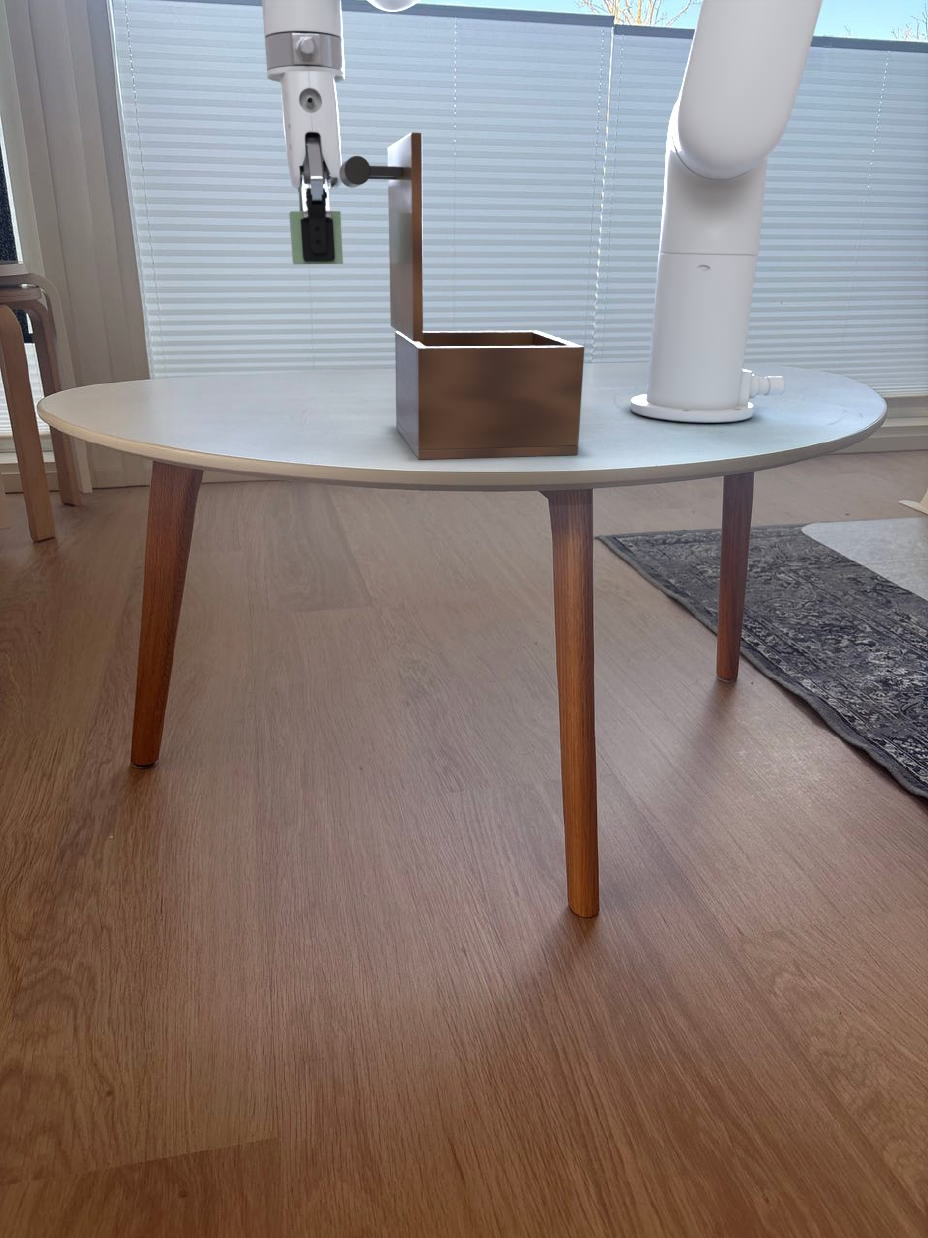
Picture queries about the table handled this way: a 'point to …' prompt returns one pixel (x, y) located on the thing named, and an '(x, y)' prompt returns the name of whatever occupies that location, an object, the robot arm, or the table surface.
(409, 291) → the chest lid
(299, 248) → the block
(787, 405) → the table surface
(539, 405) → the chest
